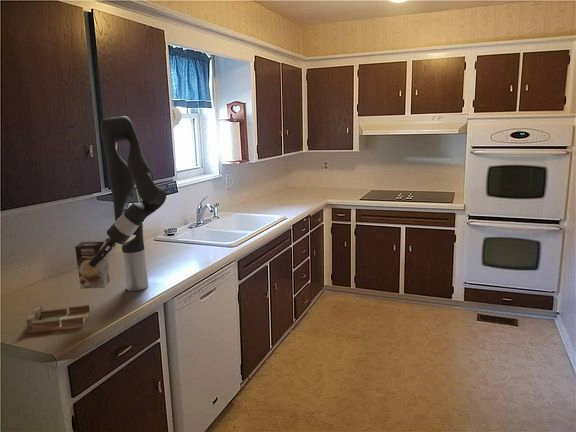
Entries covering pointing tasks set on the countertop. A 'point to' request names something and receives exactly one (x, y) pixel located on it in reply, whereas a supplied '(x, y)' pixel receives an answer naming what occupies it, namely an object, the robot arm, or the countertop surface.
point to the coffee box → (88, 274)
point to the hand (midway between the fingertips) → (93, 262)
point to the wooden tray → (57, 318)
